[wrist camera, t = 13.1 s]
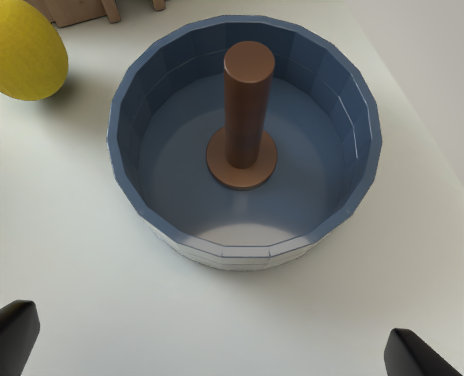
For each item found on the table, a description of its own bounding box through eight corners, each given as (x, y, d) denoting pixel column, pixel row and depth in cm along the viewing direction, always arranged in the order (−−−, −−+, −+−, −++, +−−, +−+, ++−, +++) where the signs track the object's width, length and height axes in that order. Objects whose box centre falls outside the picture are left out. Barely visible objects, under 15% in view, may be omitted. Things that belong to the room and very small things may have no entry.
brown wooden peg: (286, 179, 24) (322, 92, 15) (218, 199, 24) (211, 123, 14) (262, 119, 26) (282, 6, 17) (198, 137, 25) (180, 31, 16)
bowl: (387, 229, 24) (430, 205, 19) (162, 303, 22) (142, 299, 17) (302, 50, 29) (318, -9, 24) (112, 100, 27) (84, 48, 22)
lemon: (-6, 93, 27) (-96, 8, 20) (50, 46, 29) (-13, -50, 21) (45, 135, 26) (-30, 61, 19) (100, 84, 28) (52, -4, 20)
